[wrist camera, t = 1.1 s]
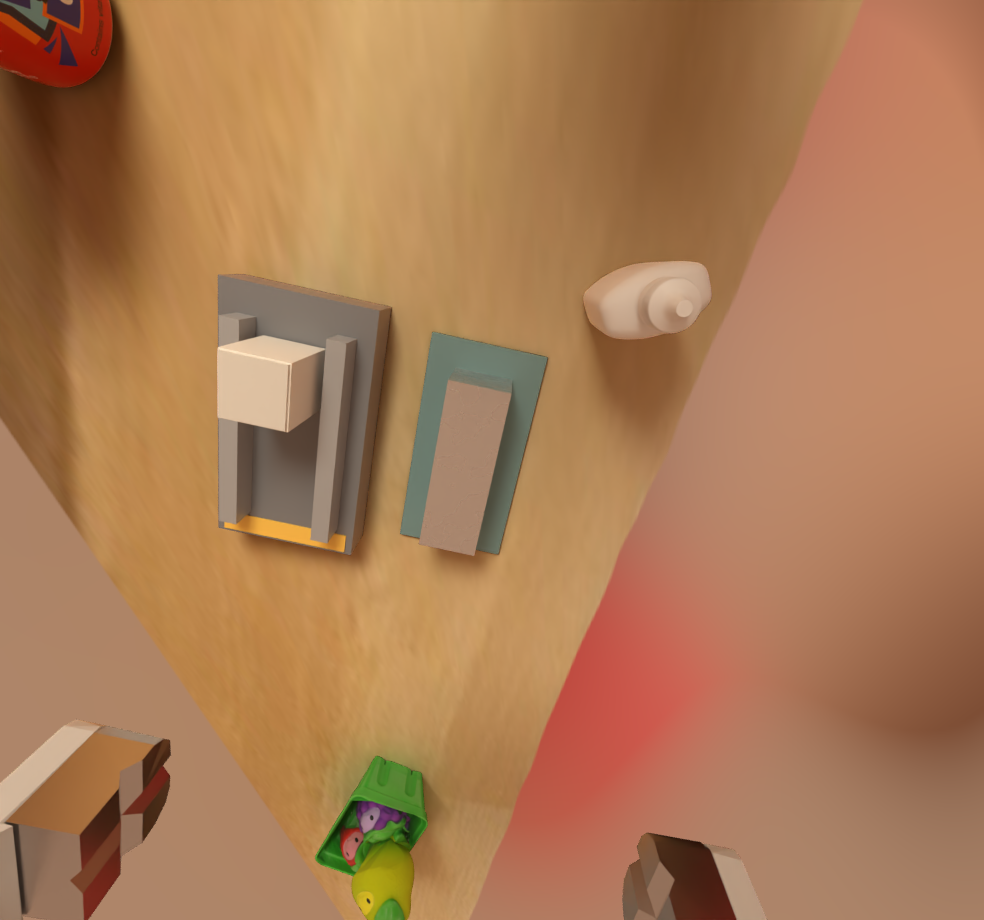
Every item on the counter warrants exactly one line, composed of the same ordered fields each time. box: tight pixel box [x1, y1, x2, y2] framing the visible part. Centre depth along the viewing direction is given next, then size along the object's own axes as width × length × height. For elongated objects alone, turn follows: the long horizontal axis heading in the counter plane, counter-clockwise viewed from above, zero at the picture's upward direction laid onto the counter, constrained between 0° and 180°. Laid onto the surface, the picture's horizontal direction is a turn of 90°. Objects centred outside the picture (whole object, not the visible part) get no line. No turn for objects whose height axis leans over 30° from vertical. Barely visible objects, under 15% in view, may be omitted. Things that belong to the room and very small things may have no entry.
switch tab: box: [217, 335, 326, 432], centre depth 29 cm, size 4×4×5 cm
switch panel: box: [218, 274, 391, 555], centre depth 33 cm, size 18×10×5 cm, turn 168°
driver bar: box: [419, 368, 512, 556], centre depth 34 cm, size 12×4×4 cm, turn 168°
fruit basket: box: [315, 756, 428, 920], centre depth 45 cm, size 11×9×11 cm
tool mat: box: [400, 332, 548, 554], centre depth 36 cm, size 16×8×1 cm, turn 168°
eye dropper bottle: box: [583, 261, 712, 340], centre depth 26 cm, size 4×6×12 cm
